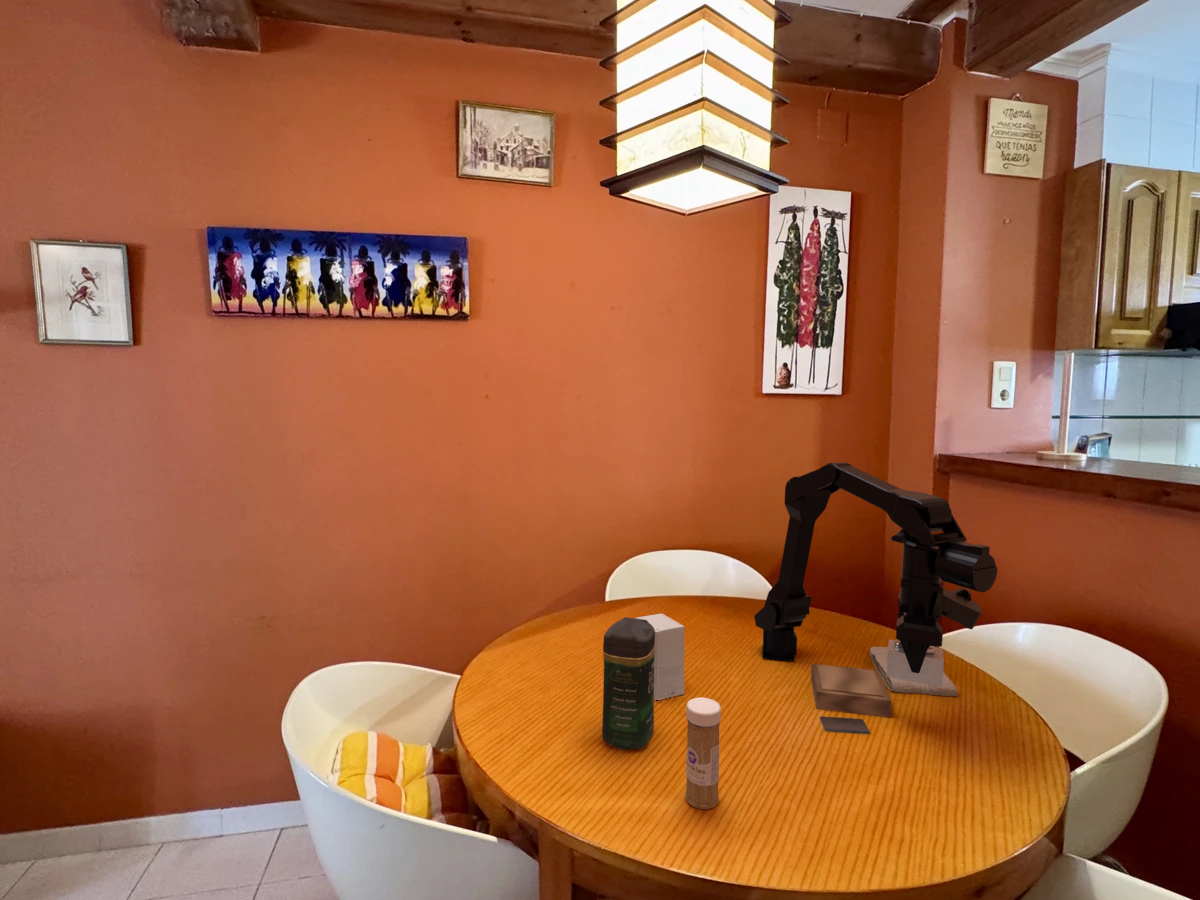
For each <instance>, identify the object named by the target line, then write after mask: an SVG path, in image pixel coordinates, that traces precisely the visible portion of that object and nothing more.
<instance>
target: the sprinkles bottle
mask: <svg viewBox="0 0 1200 900" xmlns="http://www.w3.org/2000/svg"><path fill="white" fill-rule="evenodd" d="M685 709H686V711H685V715H686V716H685V717H686V721H687V730H686V731H687V732H686V738H687V739H686V741H687V742H686V755H685V757H686V759H685V760H686V761H685V775H686V779H685V780H686V787H685V793H684V795H685V799H686V802H688V804H689V805H690V806H692V807H694V808H695V809H699V810H709V809H712V808H714V807H716V806H717V804H718V803H719V801H720V799H719V798H720V797H719V779H720V724H721V719H722V710H721V709H722V708H721V705H720V703H719V702H717V701H716V700H714V699H711V698H708V697H695V698H691V699H690V700H688V702H687V703H686V708H685Z"/></svg>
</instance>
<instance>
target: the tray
mask: <svg viewBox="0 0 1200 900" xmlns="http://www.w3.org/2000/svg"><path fill="white" fill-rule="evenodd" d="M810 666H811V667H810V680H811V681H810V682H811V686H812V693H813V696H814V703H815V709H816V710H817V709H819V710H827V711H833V712H834V711H835V712H842V713H850V714H852V713H853V714H859V715H860V714H861V715H866V716H874V717H876V716H877V717H885V718H891V714H892V713H891V710H892V700H891V697H890V695H889V692H888V690H887V688H886V686H885V685H886V684H885V682H884V680H883V679H882V677H881V675H880V674H879V671H878V670H877V669H869V668H865V669H864V668H857V667H848V666H847V667H846V666H838V665H831V664H830V665H828V664H819V663H811V665H810Z"/></svg>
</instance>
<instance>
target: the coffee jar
mask: <svg viewBox="0 0 1200 900" xmlns="http://www.w3.org/2000/svg"><path fill="white" fill-rule="evenodd" d="M636 618H637V617H627V616H625V617H623V618H622V619H619V620H618V621H616V622H615V623H613V624H612V625H610V626H609V628H608V629H607V630H606V632H605V633H604V635H603V643H602V644H603V645H602V646H603V647H602V655H603V690H602V691H603V694H602V695H603V697H602V719H601V720H602V723H601V725H602V727H601V728H602V729H601V737H602V740H603V742H605V743H606V744H608V745H610V746H612V747H613V748H616V749H618V750H624V749H625V750H626V751H628V750H638V749H643V748H645V746H647V744H648V743H649V742H650V740H651V738H652V735H653V733H654V727H655V700H654V661H655V660H654V658H655V629H654V627H653V626H652V625H651V624H650V623H649V622H648V621H647V620H644V619H636Z"/></svg>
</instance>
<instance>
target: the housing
mask: <svg viewBox="0 0 1200 900" xmlns="http://www.w3.org/2000/svg"><path fill="white" fill-rule="evenodd" d="M887 647H888V658H887V675H886V677H891V678H896V679H901V680H906V681H911V682H916V683H921V684H926V685H931V686H936V687H941V688H942V682H943V672H944V667H945V665H944V664H945V658H944V650H943V648H941V647H934V646H930V647H928V650H927V652H926V655H925V658H924V661H923V664H922V667H921V670H920V673H913V672H912V671H911V669H910V666H909V663H908V661H907V658H906V655H905V653H904V650H903V648H902V645H901V643H900V641H899V640H897V639H896V640H895V639H891V638H890V639H888V645H887Z"/></svg>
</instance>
